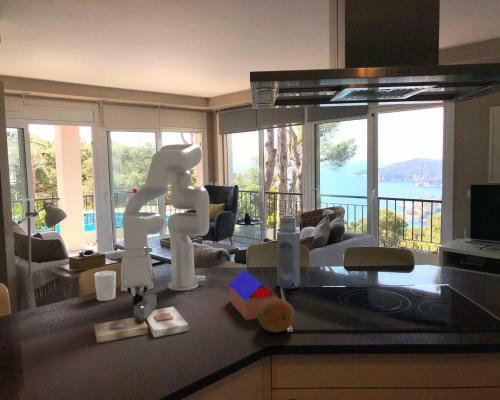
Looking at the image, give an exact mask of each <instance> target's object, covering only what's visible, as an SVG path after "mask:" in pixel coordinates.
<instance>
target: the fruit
mask: <svg viewBox="0 0 500 400" xmlns="http://www.w3.org/2000/svg"><path fill="white" fill-rule="evenodd" d="M294 319H295V311H294V307H293V306H292V305H291V303H290V302H288V301H286V300H284V299H282V298H278V299H277V298H275V299H270V300H268V301H266V302H265V303H263V304H262V306H261V307H260V309H259V313H258V318H257V320H258V324H259V325H260V326H261V327H262V329H264V330H266V331H268V332H270V333H282V332H284V331H286V330H288V329H289V328H290V327H291V326H292V324H293V323H294Z"/></svg>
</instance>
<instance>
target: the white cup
mask: <svg viewBox="0 0 500 400" xmlns="http://www.w3.org/2000/svg"><path fill="white" fill-rule="evenodd" d="M116 278H117V272H116V271H114V270H102V271H98V272H95V273H94V286H95V292H96V300H97V301H99V302H100V301H101V302H106V301H108V302H109V301H112V300H114V299H115V298H116V290H117V289H116V287H117V279H116Z"/></svg>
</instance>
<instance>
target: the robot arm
mask: <svg viewBox="0 0 500 400" xmlns="http://www.w3.org/2000/svg"><path fill="white" fill-rule="evenodd" d="M202 156H203V155H202V150H201V147H200V146H199V145H198V144H195V143H187V144H185V143H184V144H181V143H180V144H179V143H178V144H168V145H163V146H162V147H160V148H159V150H158V151H155V152H154V154H153V156H152V157H151V161H150V165H149V168H148V172H147V175H146V179H145V183H144V185H143V186H141V187H140V188H139V189H138V190H137V191H135V192H134V194H133V195H132V196H131V197H130V198H129V200H128V201H127V203H126V206H125V208H124V212H123V215H122V229H123V250H124V251H123V253H124V256H122V259H121V267H120V284H121V286H120V290H121V291H123V292H128V293H129V294H130V295H132V304H133V305H134V306H136V305H137V304H138V303H139V302H140V301H141V300H142V299H143V298H144V297H143V294H144V293H146V292H147V291H148V290H152V289H154V288H155V284H154V271H153V263H152V262H153V261H152V258H151V257H152V256H151V254H149V253H153V248H151V247H149V245H148V235H156V234H159V233H161V232H162V231H163V230H164V227H165V219H164V217H163V216H162V215H161V214H160V213H158V212H145V211H144V212H141V211H140V210H141V209H142V208H143V207H144V206H145V205H146V204H147V203H149V202H151V201H153V200H155V199H157V198H159V197H161V196H163V195H165V194H167V193H168V190H169V187H170V195H171V196H170V200H171V201H170V202H171V206H172V207H173V209H176V210H185V211H187V210H192V211H193V210H195V212H175V213H171V215H169V216H168V219H167V229H168V235H169V241H170V261H171V263H170V264H171V265H170V266H171V282H169V284H168V286H167V287H168V290H170V291H176V292H182V291H183V292H184V291H190V290H194V289H197V288H198V287H199V281H201V282H202V281H206V279H207V278H206V275H196V274H195V252H194V251H195V250H194V249H195V248H194V243H193V241H192V239H191V238H190V237H191V236H192V237H193V236H196V237H203V236H206V235H208V232H210V231H209V230H210V195H209V191H208V190H207V189H206V188H205V187H203V186H193V185H192V174H191V172H190V171H191V170H192V169H194V168H195V167H196V166H198V165H199V163H201V161H202ZM136 288H139V291H138V292H137V289H136Z"/></svg>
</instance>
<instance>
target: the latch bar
mask: <svg viewBox="0 0 500 400" xmlns="http://www.w3.org/2000/svg"><path fill="white" fill-rule="evenodd" d="M157 304H158V303H157V294H147V295H145V296H144V297H143V299H142V300H141V301H140V302H139V303H138V304H137V305H136V306H135V305H134V306H133V314H134V315H133V316H134V317H133V318H134V320H135V323H143V322H145V318H146V317H147V316H148V315H149V314H150V313H151V312H152V311H153V310H155V309H156V308H157ZM145 323H146V322H145Z"/></svg>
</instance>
